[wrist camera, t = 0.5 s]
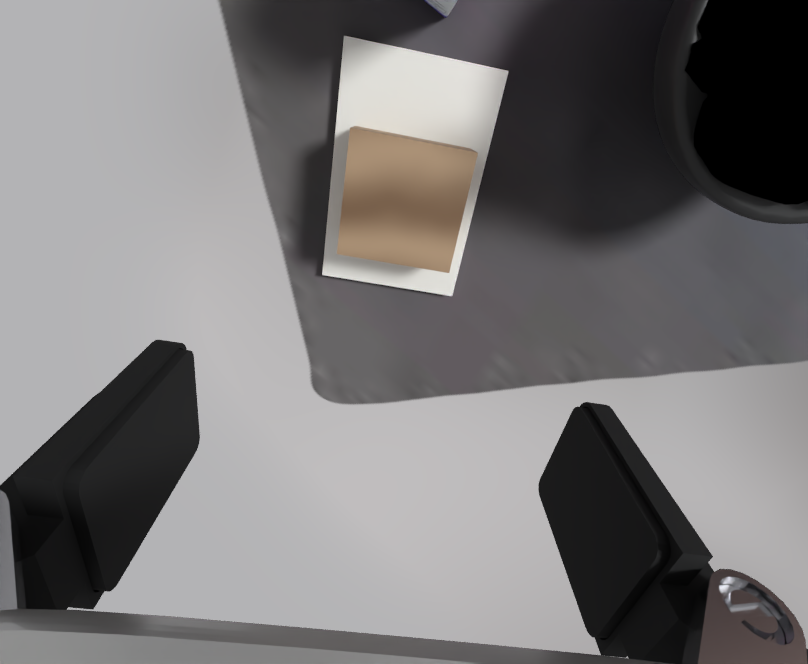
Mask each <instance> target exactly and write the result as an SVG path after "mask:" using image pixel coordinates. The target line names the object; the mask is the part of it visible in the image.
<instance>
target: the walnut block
mask: <svg viewBox="0 0 808 664" xmlns="http://www.w3.org/2000/svg"><path fill="white" fill-rule="evenodd" d="M477 156H478V153H477V152H476V151H474V150H472V149H470V148H466V147H461V146H456V145H451V144H446V143H441V142H436V141H431V140H425V139H420V138H415V137H410V136H405V135H400V134H395V133H390V132H385V131H380V130H375V129H369V128H364V127H359V126H354V127H351V128H350V133H349V142H348V152H347V161H346V171H345V180H344V190H343V199H342V208H341V218H340V227H339V237H338V246H337V254H339V255H345V256H351V257H357V258H363V259H369V260H374V261H380V262H386V263H392V264H398V265H404V266H410V267H416V268H422V269H428V270H434V271H439V272H445V273H449V272H450V267H451V263H452V259H453V255H454V251H455V247H456V243H457V238H458V234H459V230H460V226H461V222H462V218H463V214H464V209H465V205H466V201H467V197H468V193H469V189H470V185H471V180H472V176H473V172H474V168H475V164H476V160H477Z"/></svg>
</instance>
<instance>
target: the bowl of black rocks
mask: <svg viewBox="0 0 808 664" xmlns="http://www.w3.org/2000/svg"><path fill="white" fill-rule="evenodd" d="M653 101H654V110H655V117H656V121H657V125H658V129H659V133H660V136H661V139H662V141H663V144H664V146H665V148H666V150H667V152H668V154H669V156H670V158H671V159H672V161H673V163H674V164H675V166H676V167H677V168H678V170H679V171H680V173H681V174H682V175H683V176H684V177H685V178H686V179H687V181H688V182H689V183H690V184H691V185H692V186H693V187H695V188H696V189H697V190H698V191H699V192H700V193H702V194H703V195H704V196H706V197H707V198H709V199H710V200H712V201H713V202H715V203H716V204H718V205H719V206H721V207H723V208H725V209H727V210H730V211H732V212H734V213H736V214H738V215H741V216H744V217H747V218H750V219H753V220H757V221H762V222H767V223H778V224H802V223H808V0H674V1H673V3H672V6H671V8H670V11H669V14H668V16H667V19H666V21H665V24H664V28H663V31H662V34H661V38H660V41H659V46H658V50H657V55H656V61H655V68H654V79H653Z"/></svg>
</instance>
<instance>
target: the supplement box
mask: <svg viewBox="0 0 808 664" xmlns="http://www.w3.org/2000/svg"><path fill="white" fill-rule="evenodd" d="M424 1H425V2H426V3H428V4H429V5H430V6H431V7H432V8H434V9H435V10H436V11H437V12H438V13H439V14H441V15H442V16H443V17H445V18H446V17H447V16H448V15H449V13H450V12H451V10H452V9H453V7H454V6H455V4H456V2H457V0H424Z"/></svg>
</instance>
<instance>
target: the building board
mask: <svg viewBox="0 0 808 664" xmlns="http://www.w3.org/2000/svg"><path fill="white" fill-rule="evenodd" d="M508 72H509V71H507V70H502V69H497V68H493V67H488V66H483V65H479V64H474V63H469V62H465V61H460V60H456V59H451V58H446V57H442V56H437V55H432V54H428V53H423V52H418V51H414V50H409V49H404V48H400V47H395V46H390V45H386V44H381V43H376V42H372V41H367V40H362V39H358V38H353V37H348V36H344V41H343V52H342V63H341V74H340V85H339V96H338V107H337V118H336V129H335V140H334V151H333V162H332V173H331V184H330V195H329V206H328V217H327V228H326V239H325V250H324V261H323V272H322V275H326V276H332V277H338V278H344V279H350V280H356V281H362V282H368V283H375V284H381V285H387V286H393V287H399V288H405V289H411V290H417V291H423V292H429V293H435V294H442V295H448V296H452V295H453V291H454V287H455V283H456V279H457V275H458V271H459V267H460V263H461V259H462V255H463V251H464V247H465V243H466V239H467V235H468V231H469V227H470V223H471V219H472V215H473V211H474V207H475V203H476V199H477V195H478V191H479V187H480V183H481V179H482V175H483V171H484V167H485V163H486V159H487V155H488V151H489V147H490V143H491V140H492V136H493V132H494V128H495V124H496V120H497V116H498V112H499V108H500V104H501V100H502V96H503V92H504V88H505V84H506V80H507V76H508ZM354 126H359V127H364V128H369V129H375V130H380V131H385V132H390V133H395V134H400V135H405V136H410V137H415V138H420V139H425V140H431V141H436V142H441V143H446V144H451V145H456V146H461V147H466V148H470V149H472V150H474V151H476V152H477V153H478V156H477V160H476V164H475V168H474V172H473V176H472V180H471V185H470V189H469V193H468V197H467V201H466V205H465V209H464V214H463V218H462V222H461V226H460V230H459V234H458V238H457V243H456V247H455V251H454V255H453V259H452V263H451V267H450V272H449V273H445V272H439V271H434V270H428V269H422V268H416V267H410V266H404V265H398V264H392V263H386V262H380V261H374V260H369V259H363V258H357V257H351V256H345V255H339V254H337V246H338V237H339V227H340V218H341V208H342V199H343V190H344V180H345V171H346V161H347V152H348V142H349V133H350V128H351V127H354Z"/></svg>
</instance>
